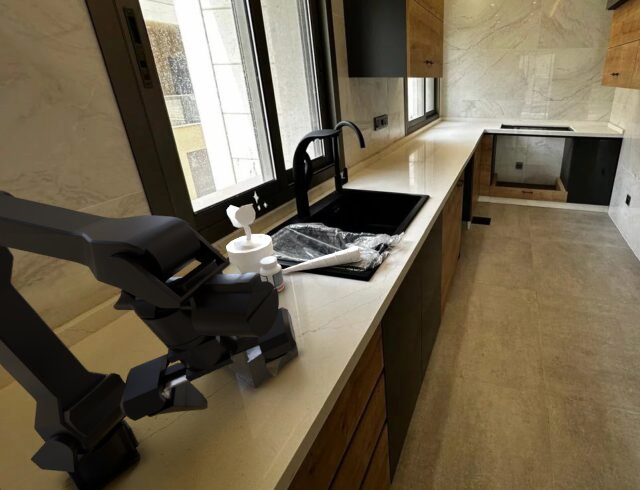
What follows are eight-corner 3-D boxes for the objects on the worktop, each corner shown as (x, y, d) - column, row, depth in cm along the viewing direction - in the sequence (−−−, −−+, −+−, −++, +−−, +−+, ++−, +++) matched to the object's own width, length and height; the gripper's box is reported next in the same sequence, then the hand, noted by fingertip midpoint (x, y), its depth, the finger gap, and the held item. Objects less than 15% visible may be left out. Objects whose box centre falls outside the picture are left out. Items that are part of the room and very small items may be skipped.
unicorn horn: (280, 266, 98) (278, 252, 97) (360, 256, 105) (359, 243, 103) (278, 275, 94) (276, 261, 92) (361, 264, 100) (360, 250, 99)
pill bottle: (285, 281, 91) (280, 253, 88) (284, 292, 87) (278, 263, 84) (264, 284, 90) (258, 256, 87) (262, 296, 85) (256, 266, 82)
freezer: (256, 326, 75) (251, 304, 72) (298, 353, 68) (294, 329, 65) (213, 354, 67) (205, 330, 65) (254, 388, 60) (248, 362, 58)
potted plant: (284, 271, 96) (270, 191, 87) (242, 289, 88) (222, 202, 79) (265, 256, 104) (250, 181, 95) (225, 271, 96) (205, 191, 87)
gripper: (267, 251, 47) (298, 318, 56) (109, 306, 40) (173, 371, 49) (277, 308, 38) (312, 375, 47) (79, 388, 32) (163, 448, 41)
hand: (242, 388), depth 47 cm, fingers open, 9 cm apart
